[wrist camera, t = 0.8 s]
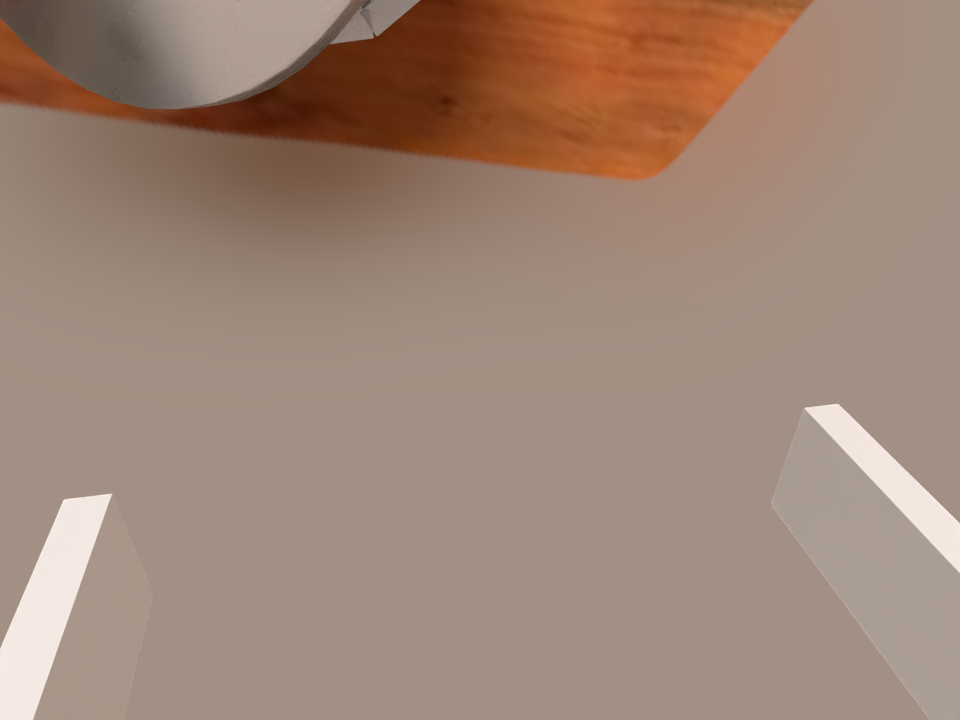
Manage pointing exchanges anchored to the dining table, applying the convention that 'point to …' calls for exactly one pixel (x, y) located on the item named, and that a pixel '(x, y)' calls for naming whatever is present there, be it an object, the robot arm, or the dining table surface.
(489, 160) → the dining table surface
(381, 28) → the pot
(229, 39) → the lid
